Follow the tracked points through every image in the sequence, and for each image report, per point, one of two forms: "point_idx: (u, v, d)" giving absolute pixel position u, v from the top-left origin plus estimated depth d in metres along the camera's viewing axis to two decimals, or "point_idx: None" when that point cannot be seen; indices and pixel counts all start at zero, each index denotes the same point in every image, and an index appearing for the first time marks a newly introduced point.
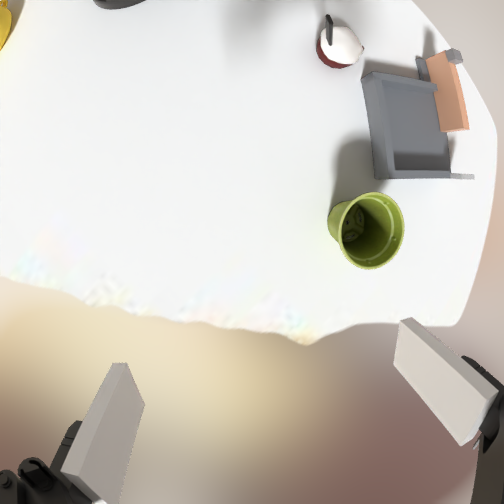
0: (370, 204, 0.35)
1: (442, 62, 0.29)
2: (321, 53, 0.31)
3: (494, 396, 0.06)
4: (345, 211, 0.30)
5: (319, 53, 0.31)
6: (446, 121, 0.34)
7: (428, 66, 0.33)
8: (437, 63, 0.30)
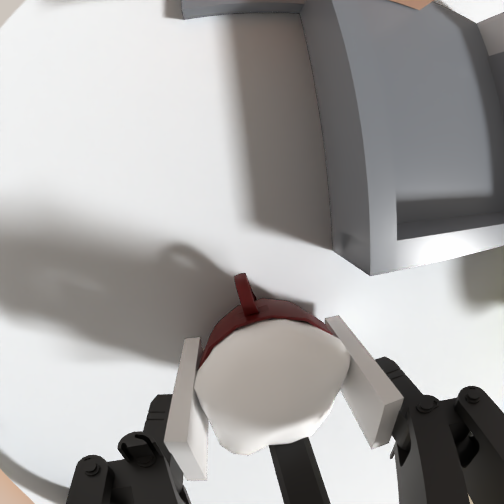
0: None
1: None
2: None
3: (398, 402, 0.07)
4: None
5: None
6: None
7: None
8: None
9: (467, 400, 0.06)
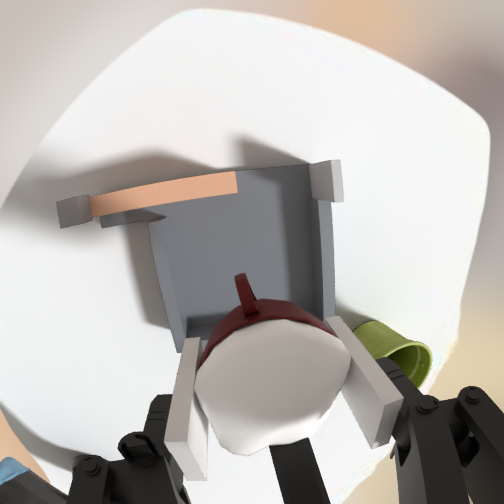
0: None
1: None
2: None
3: (398, 402, 0.07)
4: None
5: None
6: None
7: None
8: None
9: (467, 400, 0.06)
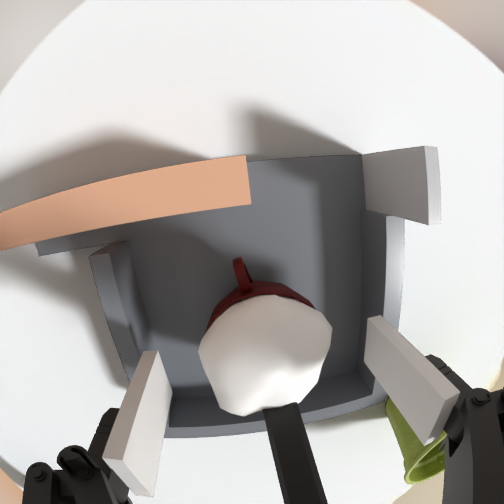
0: None
1: None
2: None
3: (455, 397, 0.06)
4: (414, 483, 0.14)
5: None
6: None
7: None
8: None
9: None
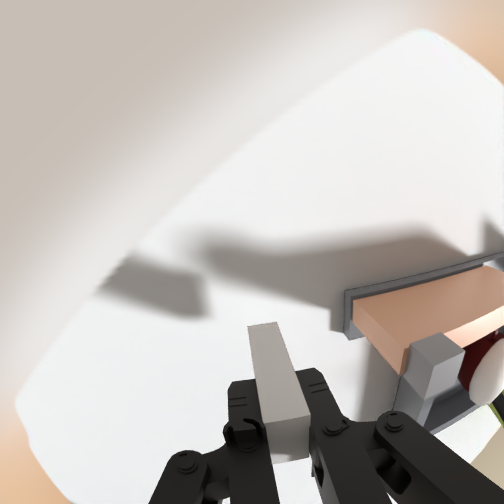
0: None
1: None
2: None
3: (305, 419, 0.08)
4: None
5: None
6: None
7: None
8: None
9: (387, 429, 0.06)
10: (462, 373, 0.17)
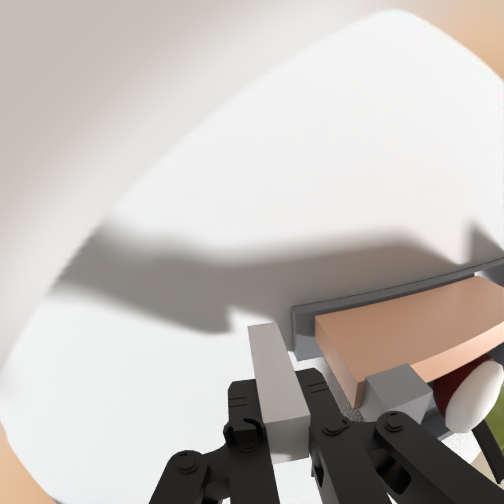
0: (497, 414, 0.19)
1: None
2: None
3: (305, 419, 0.08)
4: None
5: None
6: None
7: None
8: None
9: (387, 429, 0.06)
10: (439, 397, 0.16)
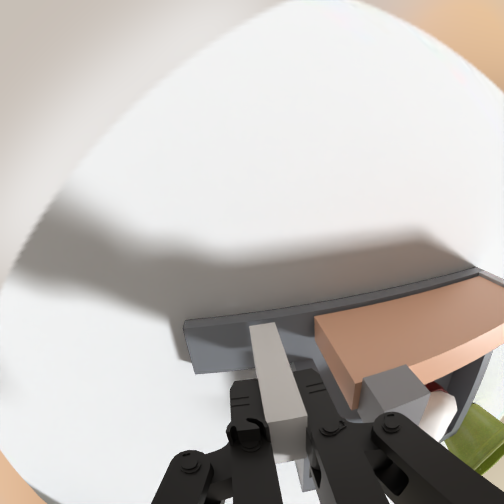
0: (466, 438, 0.18)
1: None
2: None
3: (302, 419, 0.08)
4: None
5: None
6: None
7: None
8: None
9: (385, 430, 0.06)
10: None
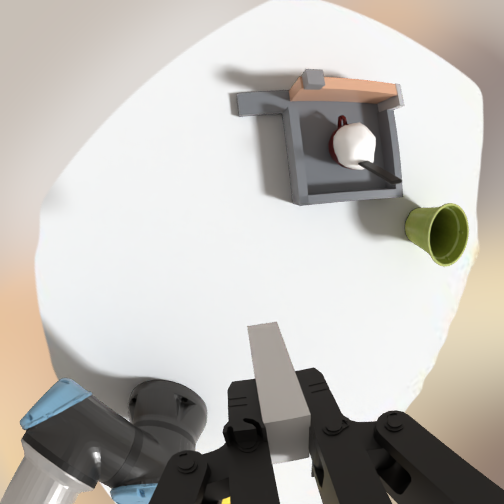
0: (419, 217, 0.37)
1: (312, 92, 0.30)
2: None
3: (305, 419, 0.08)
4: (436, 262, 0.34)
5: None
6: (373, 100, 0.33)
7: (301, 100, 0.34)
8: (308, 95, 0.31)
9: (387, 429, 0.06)
10: (330, 149, 0.34)
